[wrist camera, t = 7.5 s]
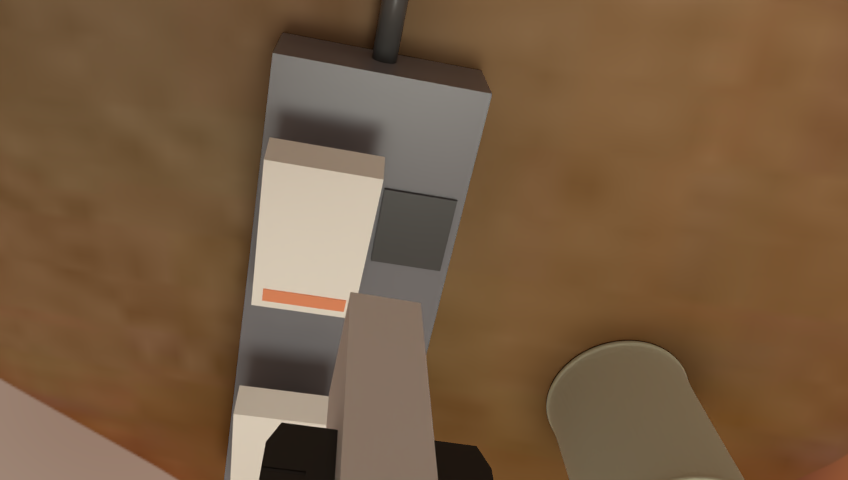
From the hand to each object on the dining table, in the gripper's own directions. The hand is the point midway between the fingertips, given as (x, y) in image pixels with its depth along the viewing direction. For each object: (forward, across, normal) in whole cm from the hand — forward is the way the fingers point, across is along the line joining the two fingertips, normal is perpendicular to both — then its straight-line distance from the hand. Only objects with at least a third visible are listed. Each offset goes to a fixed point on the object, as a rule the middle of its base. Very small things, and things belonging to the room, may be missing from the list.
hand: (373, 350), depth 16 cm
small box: (+18, -1, -20) cm, 27 cm away
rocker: (+18, -2, -7) cm, 19 cm away
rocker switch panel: (+24, +1, -11) cm, 26 cm away
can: (+24, +20, -18) cm, 36 cm away
